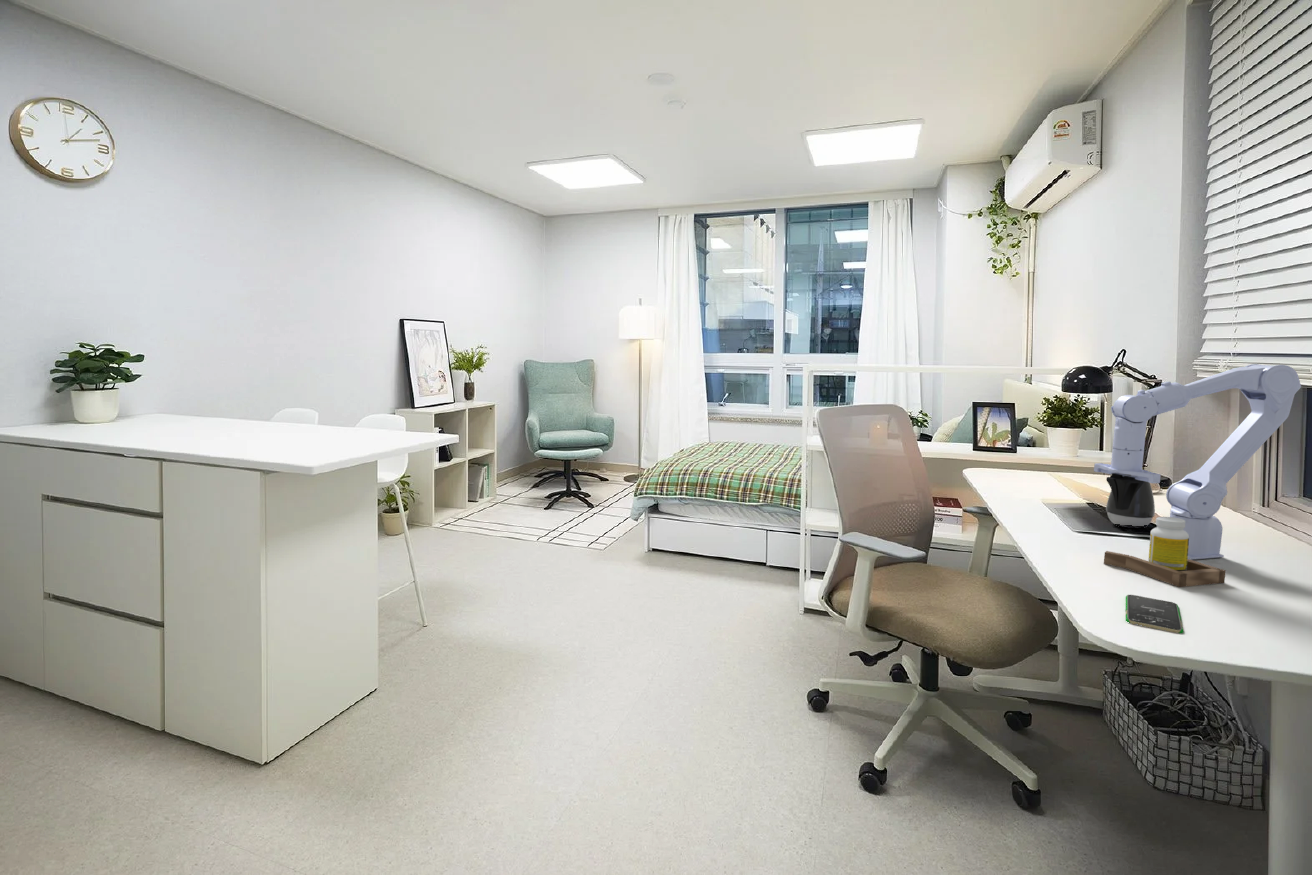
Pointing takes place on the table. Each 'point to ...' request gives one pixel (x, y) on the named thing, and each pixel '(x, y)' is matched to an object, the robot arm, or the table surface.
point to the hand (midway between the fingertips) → (1122, 508)
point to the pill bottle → (1169, 543)
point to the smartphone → (1153, 613)
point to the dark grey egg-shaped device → (1133, 508)
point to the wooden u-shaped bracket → (1168, 570)
